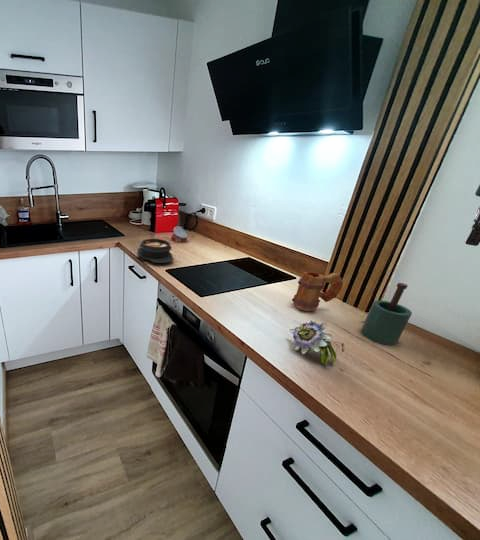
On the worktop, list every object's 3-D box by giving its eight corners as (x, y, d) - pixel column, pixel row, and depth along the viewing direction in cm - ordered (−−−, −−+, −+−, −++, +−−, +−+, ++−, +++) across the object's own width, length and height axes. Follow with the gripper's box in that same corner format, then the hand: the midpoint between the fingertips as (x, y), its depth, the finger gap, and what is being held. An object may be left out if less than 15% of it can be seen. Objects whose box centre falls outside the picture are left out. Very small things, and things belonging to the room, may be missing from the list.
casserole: (130, 251, 161) (130, 237, 158) (159, 248, 167) (160, 234, 164) (148, 268, 140) (150, 252, 137) (181, 264, 146) (183, 248, 143)
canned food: (182, 245, 189) (190, 232, 186) (183, 248, 180) (192, 235, 177) (167, 236, 189) (175, 223, 186) (168, 239, 179) (176, 225, 176)
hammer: (381, 330, 94) (405, 281, 87) (391, 338, 90) (416, 288, 83) (367, 329, 95) (389, 280, 87) (376, 337, 91) (400, 287, 83)
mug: (293, 312, 105) (305, 275, 99) (286, 301, 113) (296, 266, 107) (337, 317, 103) (351, 279, 97) (326, 305, 110) (339, 270, 105)
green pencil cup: (383, 329, 96) (396, 301, 92) (404, 346, 88) (420, 316, 84) (354, 327, 97) (366, 299, 93) (372, 343, 89) (386, 313, 85)
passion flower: (292, 364, 87) (279, 326, 89) (324, 356, 88) (311, 317, 90) (320, 370, 76) (304, 326, 78) (356, 360, 77) (340, 317, 79)
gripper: (534, 180, 61) (493, 251, 68) (532, 178, 69) (496, 241, 76) (481, 177, 67) (448, 243, 73) (485, 175, 75) (455, 234, 81)
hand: (472, 242), depth 75 cm, fingers open, 8 cm apart
